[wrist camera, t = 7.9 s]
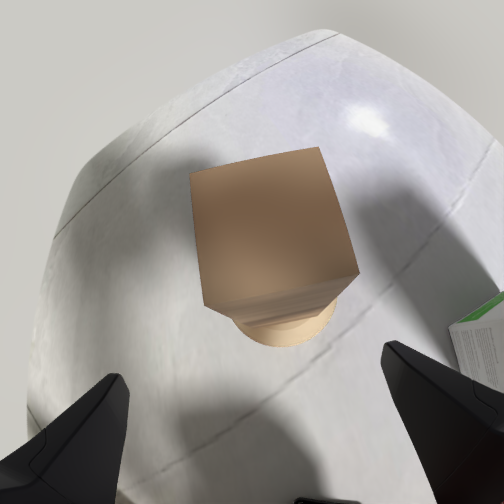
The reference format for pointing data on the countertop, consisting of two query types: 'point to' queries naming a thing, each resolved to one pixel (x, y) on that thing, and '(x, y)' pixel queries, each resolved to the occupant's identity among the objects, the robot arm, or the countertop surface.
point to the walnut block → (271, 238)
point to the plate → (289, 329)
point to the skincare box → (482, 343)
